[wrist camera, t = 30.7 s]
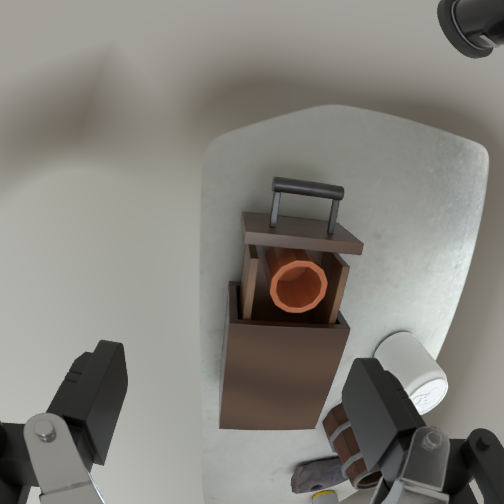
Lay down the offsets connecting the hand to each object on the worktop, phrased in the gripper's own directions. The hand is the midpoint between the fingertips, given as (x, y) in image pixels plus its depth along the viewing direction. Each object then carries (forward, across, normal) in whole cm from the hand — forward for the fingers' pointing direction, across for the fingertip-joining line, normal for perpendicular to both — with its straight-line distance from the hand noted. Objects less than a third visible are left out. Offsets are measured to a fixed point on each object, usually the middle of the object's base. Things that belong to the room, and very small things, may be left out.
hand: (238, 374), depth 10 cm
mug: (+28, -26, +38) cm, 54 cm away
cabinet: (+28, -7, +18) cm, 34 cm away
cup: (+26, -7, +6) cm, 27 cm away
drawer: (+27, -7, +6) cm, 29 cm away
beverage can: (+28, -28, +20) cm, 45 cm away
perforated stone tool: (+28, -24, +52) cm, 64 cm away
